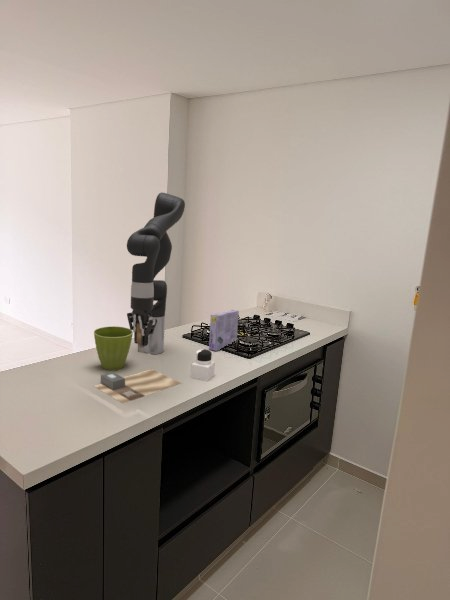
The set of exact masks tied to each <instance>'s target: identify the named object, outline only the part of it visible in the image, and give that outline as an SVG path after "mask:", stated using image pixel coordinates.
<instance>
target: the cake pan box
mask: <svg viewBox="0 0 450 600" xmlns="http://www.w3.org/2000/svg"><path fill="white" fill-rule="evenodd" d="M239 313H240V311H239V310H235V309H229V310H225V311H221V312H216V313H212V314H210V323H209V325H210V326H209V341H208V342H209V343H208V349H209V350H211V351H215V352H218V351H220V349H221V348H222V347H224V346H226V345H228V344H231V343H232V342H234V341H236V340H238V326H239ZM221 350H222V349H221Z"/></svg>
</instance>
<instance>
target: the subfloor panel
mask: <svg viewBox="0 0 450 600" xmlns="http://www.w3.org/2000/svg"><path fill="white" fill-rule="evenodd" d="M122 377H123V378H125V387H121V388H118V389H115V390H112V389H110V388H109V387H107V386H105V385H104V384H102V383H99V384H95V385H93V387H94V388H96V389H97V390H99V391H101V392H103V393H105V394H106V395H108V396H110V397H111V398H113V399H115V400H116V401H118V402H120V403H121V404H126V403H128V402H131V401H135V400H137V399H140V398H143V397H146V396H149V395H151V394H155V393H158V392H160V391H163V390H167V389H169V388H172V387H175V386H178V385H181V384H182V383H181V382H180V381H179V380H176V379H174V378H172V377H170V376H167V375H165V374H163V373H161V372H158V371H157V370H154V369H153V368H151V369H147V370H143V371H141V372H136V373H134V374H130V375H127V376H122ZM127 392H132V393H134V394H131V395H129V396H127V395H126V394H124V393H127Z"/></svg>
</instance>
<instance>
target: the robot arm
mask: <svg viewBox="0 0 450 600" xmlns="http://www.w3.org/2000/svg"><path fill="white" fill-rule="evenodd" d="M185 202H186V201H185V200H184V199H183V198H181V197H179V196H176V195H173V194H170V193H166V192H160V193H158V194H157V196H156V199H155V201H154V209H153V218H150V219H149V220H148V222H147V223H146V224H145V225H144V227H142V228H140V229H138V230H136V231H135V232H133V233H132V234H131V235H130V236H129V237H128V239H127V242H126V248H127V252H128V254H130V255H132V256H135V257H146V259H145V261H144V262H139V263H135V264H133V265H132V268H131V270H132V271H131V285H130V309H131V310H132V312H127V313H126V317H127V321H128V325H129V329H130V330H132V331H133V337H134V338H133V340H134V341H133V342H134V344H136V345H138V343H137V342H136V340H137V323H138V324H140V329H141V331H142V339H141V345H142V346H144V352H143V353H145V354H150V355H158V354H159V355H160V354H162V353H164V350H165V349H164V348H165V347H164V346H165V345H164V344H165V323H166V322H165V321H166V310H167V309H166V307H167V298H168V297H167V295H168V285H167V282H166V281H165V280H163V279H160V280H159V279H157V280H156V279H155V278H156V276H157V275H158V274H159V273H160V272H161V271H162V270H163V269H164V268H165V267H166V266H167V265H168V264H169V261H170V259H171V254H172V250H173V245H172V242H171V239H170V236H169V234H168V230H169V229H170V228H172V227H174V225H175V224H177V223H178V222H179V221H180V220H181V218H182V217H183V215H184V212H185V208H186V203H185ZM155 301H156V302H155ZM154 302H155V303H154ZM143 325H146V326H143ZM145 328H146V332H145Z"/></svg>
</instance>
